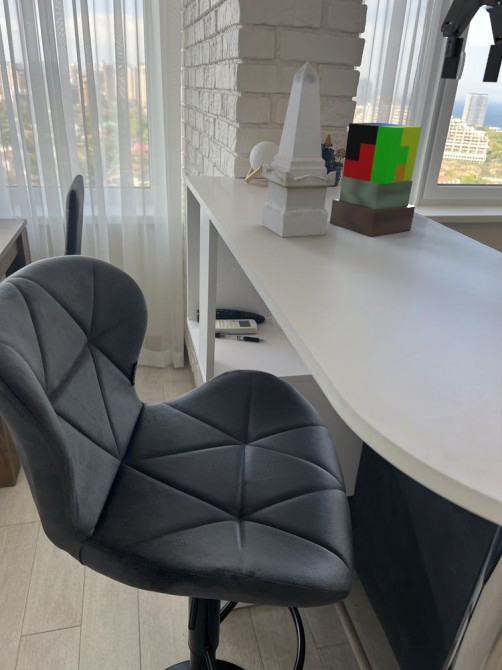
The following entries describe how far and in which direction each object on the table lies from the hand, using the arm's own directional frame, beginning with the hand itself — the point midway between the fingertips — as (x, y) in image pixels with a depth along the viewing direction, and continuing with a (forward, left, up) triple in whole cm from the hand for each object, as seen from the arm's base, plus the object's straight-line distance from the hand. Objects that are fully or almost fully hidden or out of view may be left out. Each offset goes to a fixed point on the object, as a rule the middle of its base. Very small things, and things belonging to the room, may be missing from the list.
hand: (469, 80), depth 97 cm
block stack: (+7, +14, -29) cm, 33 cm away
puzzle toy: (+7, +14, -19) cm, 24 cm away
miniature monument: (+12, +31, -29) cm, 44 cm away
